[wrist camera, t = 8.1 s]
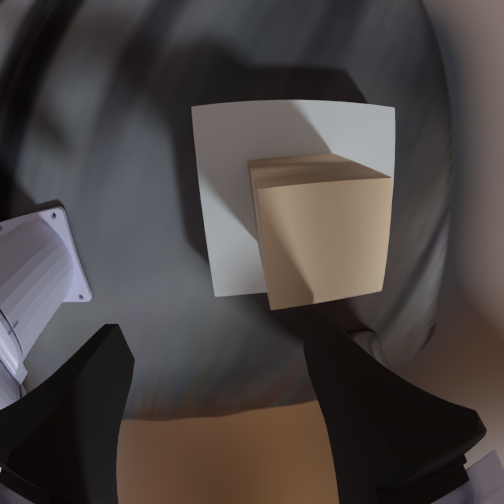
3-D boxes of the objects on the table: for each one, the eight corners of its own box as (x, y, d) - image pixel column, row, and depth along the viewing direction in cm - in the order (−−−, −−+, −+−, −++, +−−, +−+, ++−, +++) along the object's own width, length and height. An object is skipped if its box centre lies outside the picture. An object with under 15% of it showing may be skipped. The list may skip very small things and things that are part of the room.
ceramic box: (217, 268, 20) (215, 296, 17) (199, 110, 15) (191, 106, 12) (361, 255, 20) (380, 278, 17) (367, 108, 15) (394, 107, 12)
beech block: (257, 241, 15) (270, 310, 10) (247, 160, 13) (257, 189, 8) (334, 231, 15) (381, 290, 10) (333, 153, 13) (392, 178, 8)
